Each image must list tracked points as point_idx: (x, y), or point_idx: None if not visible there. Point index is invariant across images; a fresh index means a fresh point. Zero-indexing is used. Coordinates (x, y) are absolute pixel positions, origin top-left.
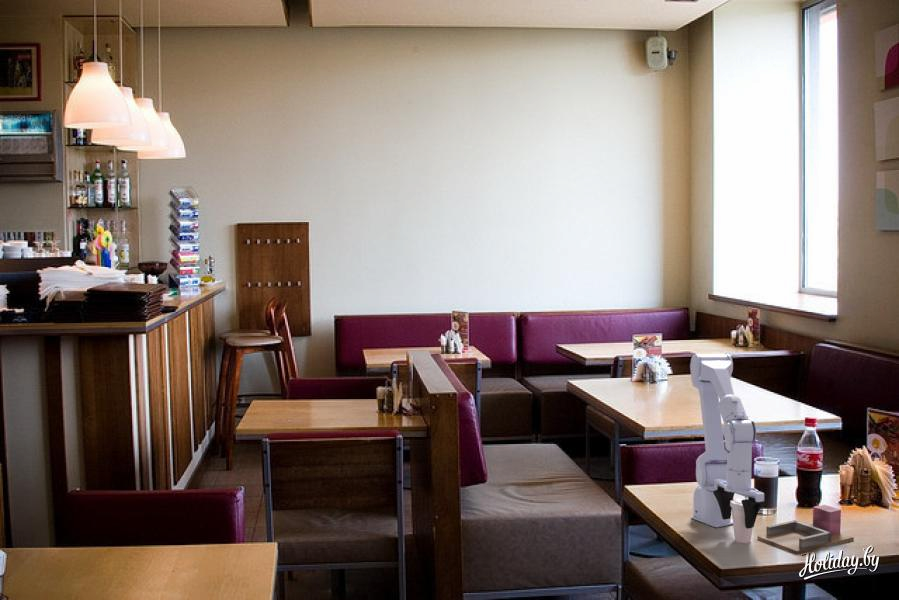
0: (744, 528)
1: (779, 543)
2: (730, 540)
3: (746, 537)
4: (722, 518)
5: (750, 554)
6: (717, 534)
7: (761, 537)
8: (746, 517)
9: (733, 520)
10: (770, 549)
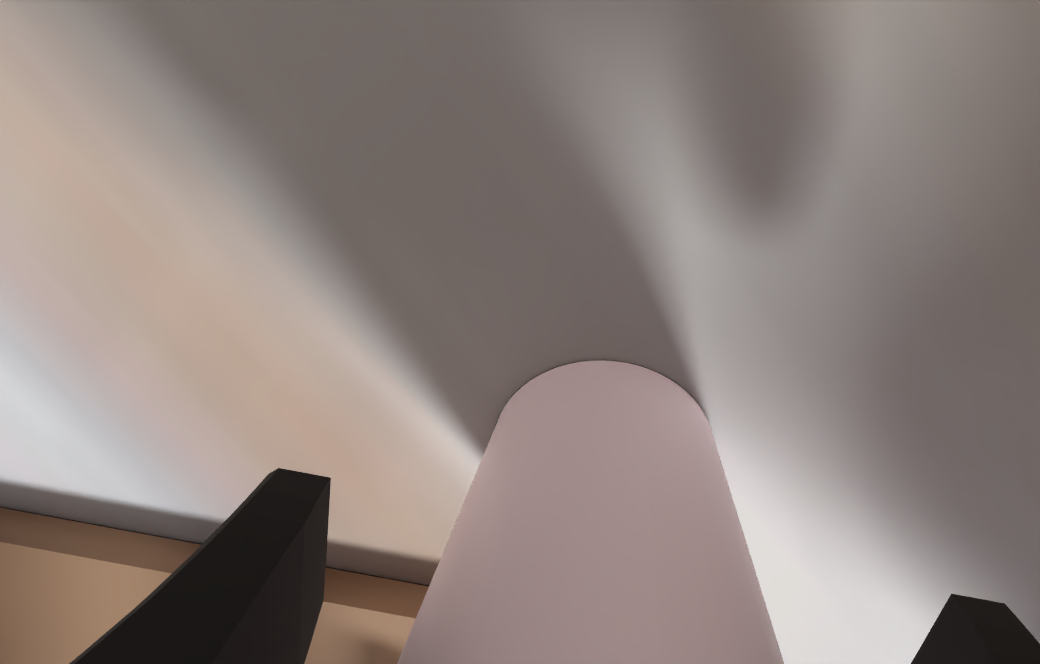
0: (471, 534)
1: None
2: (738, 352)
3: (487, 457)
4: (1009, 611)
5: (127, 47)
6: (1035, 430)
7: None
8: (159, 639)
9: (712, 610)
10: (164, 427)
